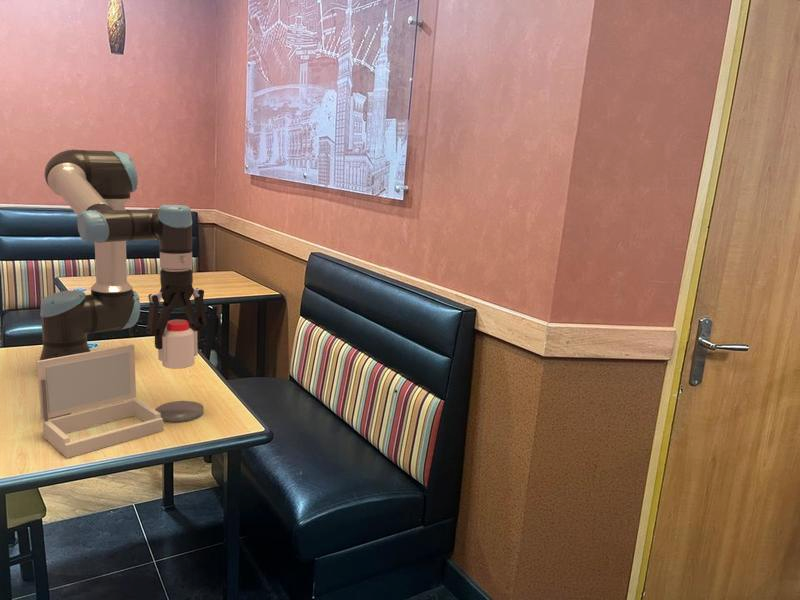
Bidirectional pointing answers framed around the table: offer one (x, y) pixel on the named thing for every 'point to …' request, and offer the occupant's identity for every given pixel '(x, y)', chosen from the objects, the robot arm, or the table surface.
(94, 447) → the box
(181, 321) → the pill bottle
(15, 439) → the table surface
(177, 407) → the saucer
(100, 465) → the table surface
